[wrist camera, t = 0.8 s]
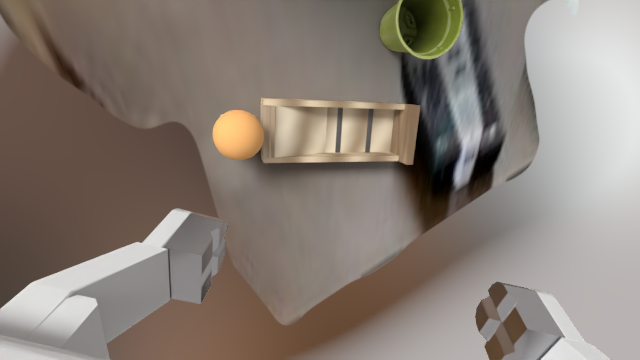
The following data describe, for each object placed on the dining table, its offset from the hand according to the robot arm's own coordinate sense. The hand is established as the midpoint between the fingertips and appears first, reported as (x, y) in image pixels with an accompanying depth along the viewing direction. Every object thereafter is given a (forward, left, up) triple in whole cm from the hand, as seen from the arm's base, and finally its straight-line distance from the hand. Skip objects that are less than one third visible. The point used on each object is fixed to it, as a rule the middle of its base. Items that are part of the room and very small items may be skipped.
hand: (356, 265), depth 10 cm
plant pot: (-20, +15, -39) cm, 47 cm away
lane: (-3, +11, -39) cm, 41 cm away
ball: (+2, -2, -34) cm, 35 cm away
